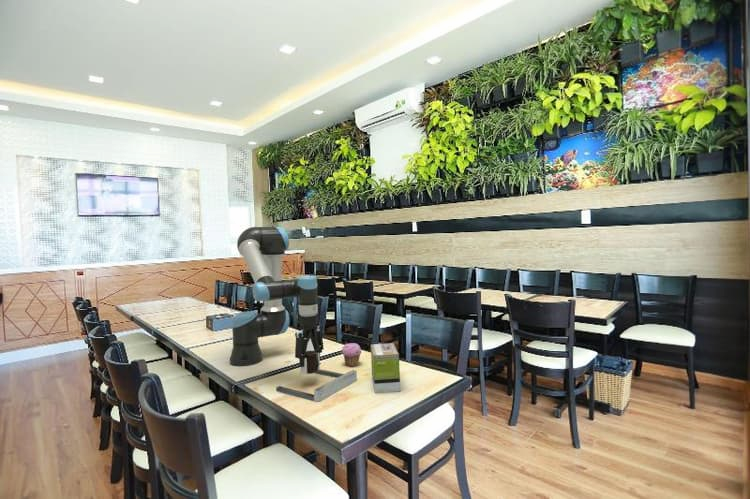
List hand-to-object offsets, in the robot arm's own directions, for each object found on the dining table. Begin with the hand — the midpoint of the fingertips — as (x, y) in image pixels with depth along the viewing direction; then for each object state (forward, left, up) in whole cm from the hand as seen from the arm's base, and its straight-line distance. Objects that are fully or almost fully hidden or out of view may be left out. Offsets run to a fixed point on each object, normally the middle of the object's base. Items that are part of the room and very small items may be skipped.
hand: (310, 371), depth 158 cm
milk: (-28, +31, -5) cm, 42 cm away
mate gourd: (0, 0, 0) cm, 0 cm away
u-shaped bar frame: (+4, 0, -5) cm, 7 cm away
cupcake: (+1, +27, -5) cm, 28 cm away
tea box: (+27, +13, -5) cm, 31 cm away
